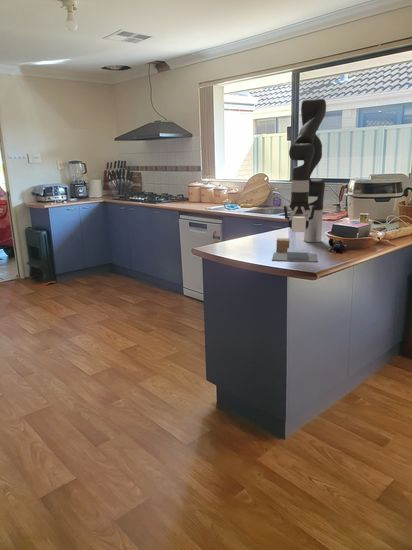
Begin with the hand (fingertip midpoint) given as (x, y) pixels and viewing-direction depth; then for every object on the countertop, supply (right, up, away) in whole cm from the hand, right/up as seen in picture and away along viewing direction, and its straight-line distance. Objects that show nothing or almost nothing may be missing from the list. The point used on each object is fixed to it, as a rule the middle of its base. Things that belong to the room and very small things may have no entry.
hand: (298, 228), depth 194 cm
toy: (+23, -9, +19) cm, 31 cm away
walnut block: (-4, -9, +18) cm, 21 cm away
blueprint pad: (0, -13, +3) cm, 13 cm away
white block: (0, -1, 0) cm, 1 cm away
